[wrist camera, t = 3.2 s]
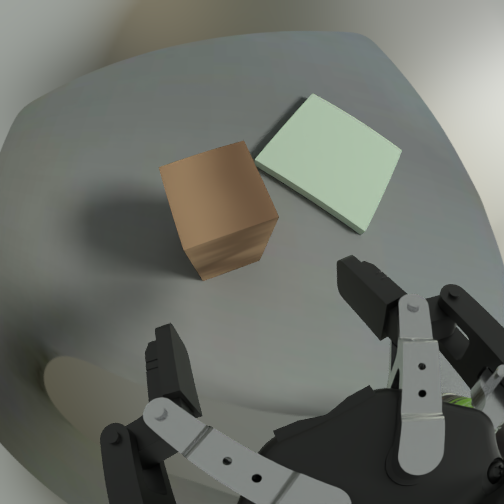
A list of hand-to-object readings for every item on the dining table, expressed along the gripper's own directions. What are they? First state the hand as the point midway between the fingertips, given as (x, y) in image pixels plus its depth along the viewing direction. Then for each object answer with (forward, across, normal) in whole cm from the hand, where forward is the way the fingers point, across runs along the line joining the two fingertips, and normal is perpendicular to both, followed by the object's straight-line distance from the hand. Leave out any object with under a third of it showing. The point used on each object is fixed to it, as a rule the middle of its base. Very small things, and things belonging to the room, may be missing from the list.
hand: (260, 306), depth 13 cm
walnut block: (+12, 0, +3) cm, 12 cm away
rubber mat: (+15, -14, 0) cm, 21 cm away
